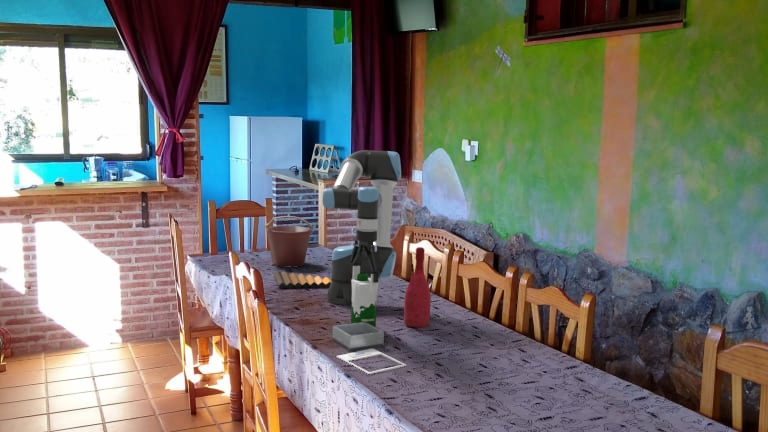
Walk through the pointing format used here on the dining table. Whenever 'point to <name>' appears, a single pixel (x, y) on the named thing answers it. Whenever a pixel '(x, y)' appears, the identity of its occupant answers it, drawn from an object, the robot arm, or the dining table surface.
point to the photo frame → (365, 355)
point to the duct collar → (358, 336)
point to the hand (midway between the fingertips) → (364, 287)
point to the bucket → (288, 243)
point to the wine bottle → (417, 296)
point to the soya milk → (363, 301)
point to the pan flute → (300, 281)
